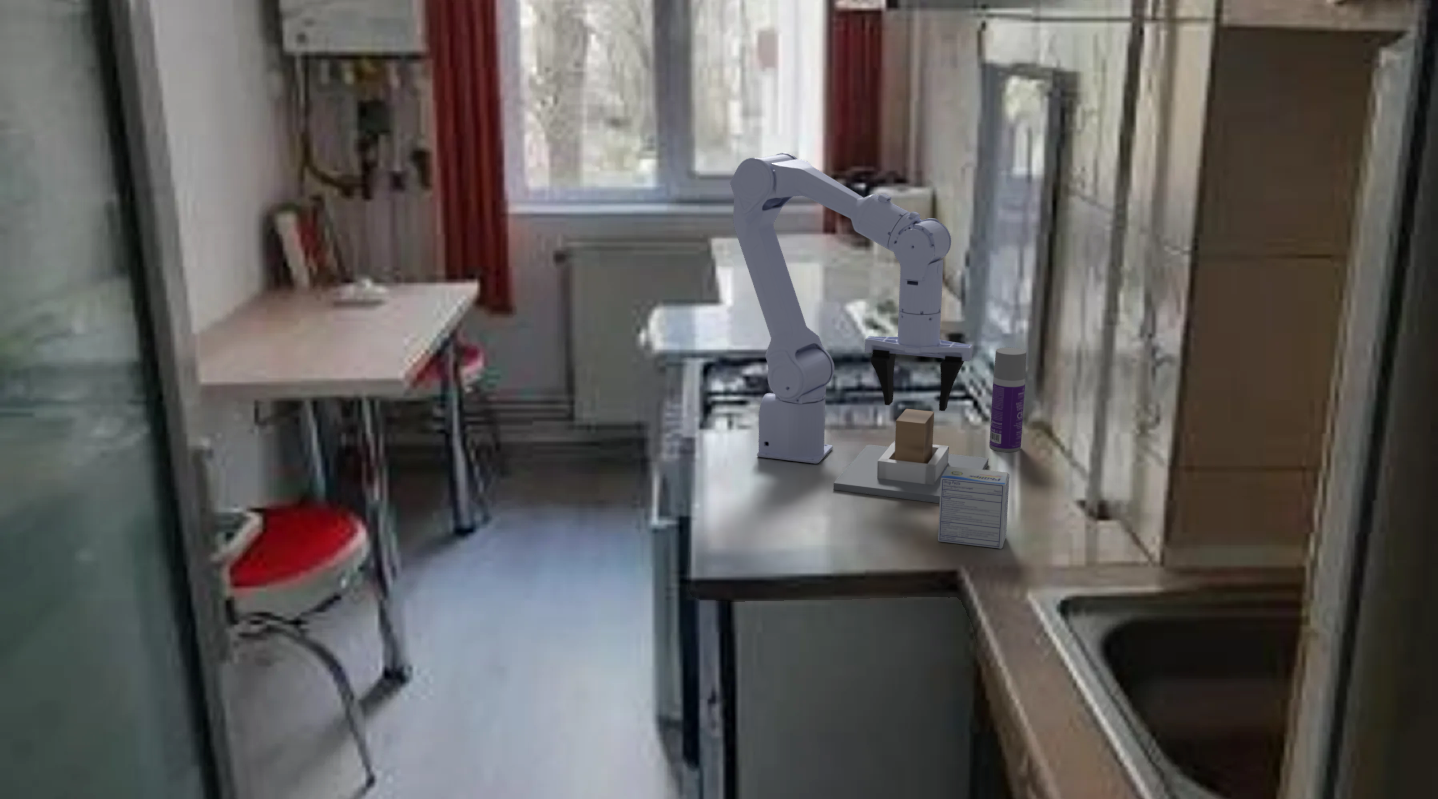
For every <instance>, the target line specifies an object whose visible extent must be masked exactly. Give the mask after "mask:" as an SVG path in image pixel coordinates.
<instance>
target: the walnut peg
mask: <svg viewBox="0 0 1438 799" xmlns="http://www.w3.org/2000/svg"><path fill="white" fill-rule="evenodd" d="M934 421H935V411H931V410H922V409H921V410H920V409H912V408H906V409H905V410H904V411H903V412H902V413H901V414H900V415H899V416H898V417H897V418H896V420H895V434H894V435H895V439H894V440H895V460H899V461H908V462H916V463H925V464H928V463H929V461H930V460H931V458H932V448H933V443H934Z"/></svg>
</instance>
